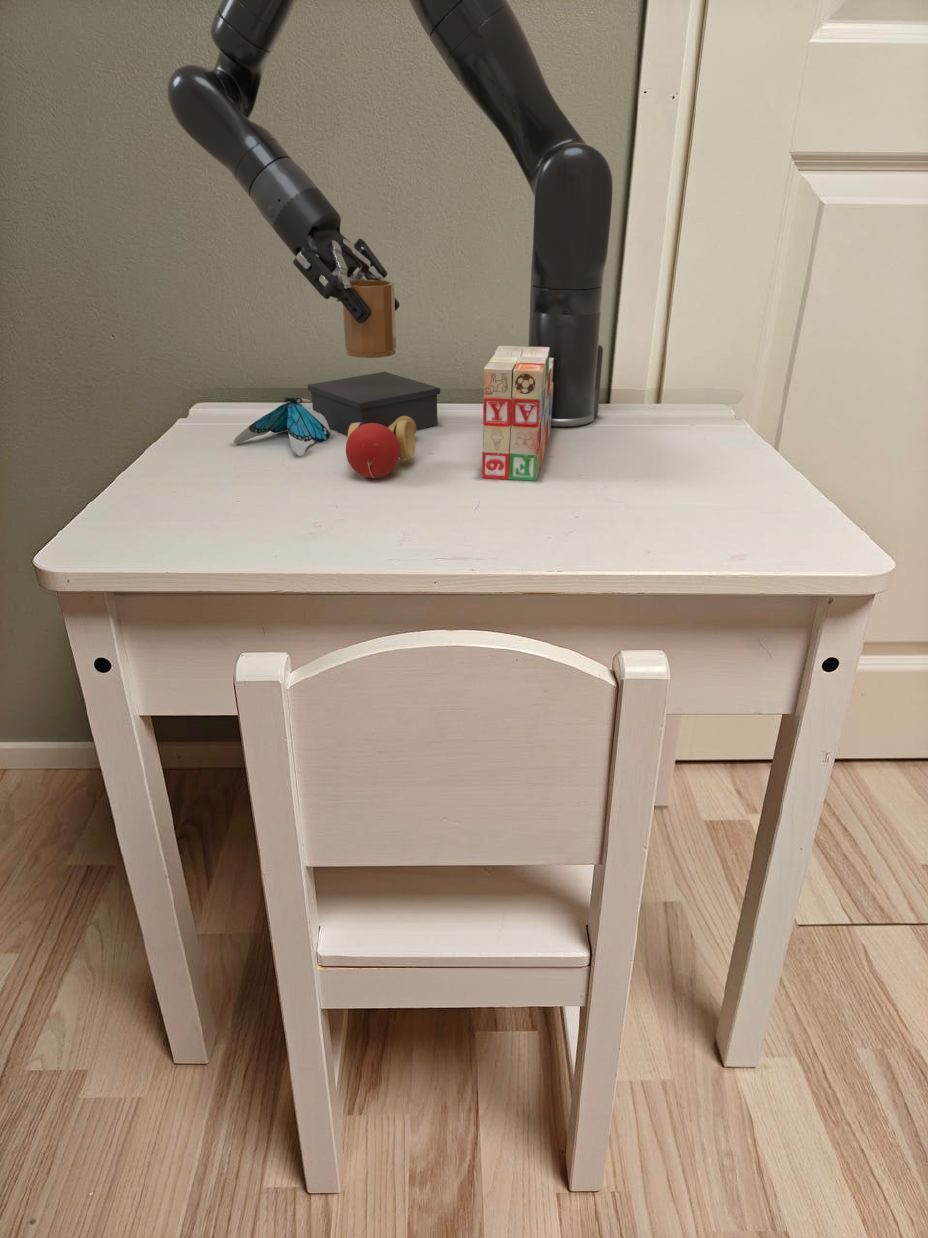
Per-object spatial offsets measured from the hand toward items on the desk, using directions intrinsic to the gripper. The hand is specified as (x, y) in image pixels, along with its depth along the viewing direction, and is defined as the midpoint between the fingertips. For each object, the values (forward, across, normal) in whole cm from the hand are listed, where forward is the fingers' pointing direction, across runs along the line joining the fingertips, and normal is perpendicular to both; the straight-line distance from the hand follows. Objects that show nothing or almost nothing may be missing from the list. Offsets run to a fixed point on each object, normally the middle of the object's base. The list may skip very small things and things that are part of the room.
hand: (380, 314), depth 109 cm
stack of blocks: (+25, -3, -5) cm, 25 cm away
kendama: (+16, -13, +5) cm, 21 cm away
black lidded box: (+9, 0, +11) cm, 14 cm away
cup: (+2, 0, +5) cm, 5 cm away
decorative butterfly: (+5, -11, +15) cm, 20 cm away
